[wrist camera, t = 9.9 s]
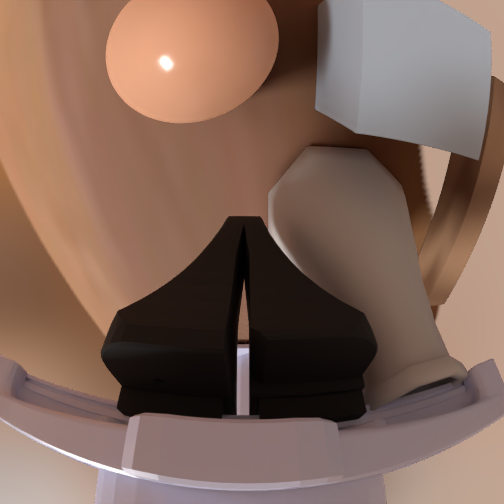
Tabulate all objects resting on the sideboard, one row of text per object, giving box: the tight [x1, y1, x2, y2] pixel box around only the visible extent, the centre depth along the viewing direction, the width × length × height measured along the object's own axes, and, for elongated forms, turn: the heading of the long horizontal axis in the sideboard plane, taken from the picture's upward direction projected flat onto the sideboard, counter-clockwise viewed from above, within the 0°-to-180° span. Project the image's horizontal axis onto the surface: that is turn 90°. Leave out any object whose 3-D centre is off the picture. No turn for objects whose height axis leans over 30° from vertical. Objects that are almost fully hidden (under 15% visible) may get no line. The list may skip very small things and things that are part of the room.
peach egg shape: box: [106, 0, 279, 123], centre depth 7 cm, size 5×5×4 cm
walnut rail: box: [418, 76, 504, 306], centre depth 11 cm, size 14×2×2 cm, turn 0°
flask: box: [268, 146, 468, 411], centre depth 9 cm, size 7×7×10 cm
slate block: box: [315, 0, 491, 160], centre depth 7 cm, size 5×5×5 cm
